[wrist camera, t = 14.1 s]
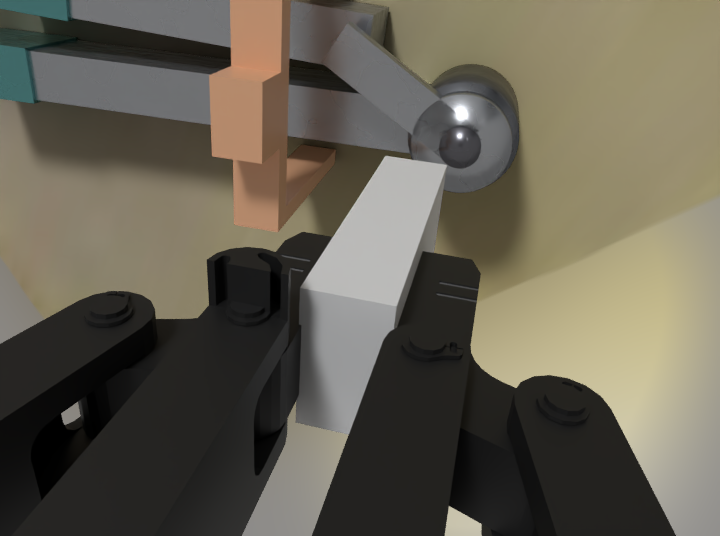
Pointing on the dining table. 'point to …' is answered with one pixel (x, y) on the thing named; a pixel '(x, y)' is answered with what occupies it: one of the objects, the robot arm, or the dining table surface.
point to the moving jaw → (346, 59)
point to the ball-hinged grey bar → (192, 91)
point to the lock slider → (261, 119)
